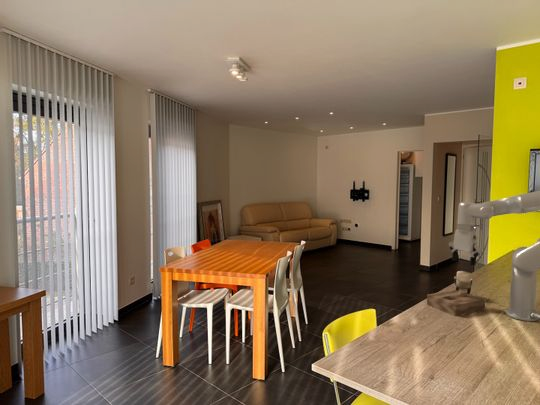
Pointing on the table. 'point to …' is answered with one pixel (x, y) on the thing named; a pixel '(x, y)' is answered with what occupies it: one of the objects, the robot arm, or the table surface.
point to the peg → (463, 282)
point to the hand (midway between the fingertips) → (463, 262)
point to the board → (455, 302)
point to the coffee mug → (458, 288)
